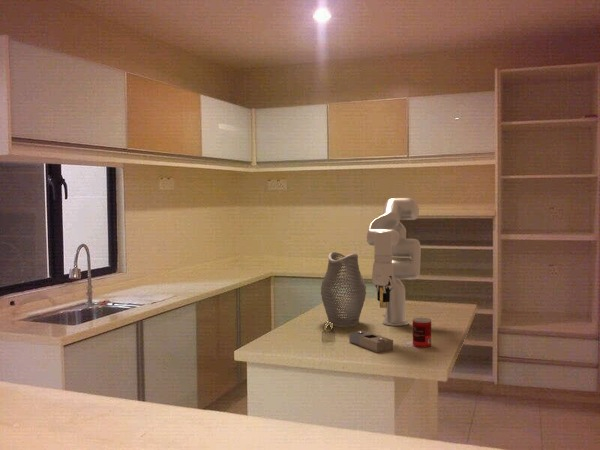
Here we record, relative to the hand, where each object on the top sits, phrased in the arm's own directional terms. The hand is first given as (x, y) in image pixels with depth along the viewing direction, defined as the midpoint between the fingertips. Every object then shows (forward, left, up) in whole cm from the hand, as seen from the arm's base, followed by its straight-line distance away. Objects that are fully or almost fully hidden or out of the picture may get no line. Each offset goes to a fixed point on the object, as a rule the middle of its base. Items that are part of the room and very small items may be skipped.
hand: (383, 300), depth 252 cm
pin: (0, 0, -3) cm, 3 cm away
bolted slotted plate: (+6, -11, -17) cm, 21 cm away
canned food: (+16, +8, -17) cm, 25 cm away
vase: (-37, +3, -17) cm, 41 cm away
